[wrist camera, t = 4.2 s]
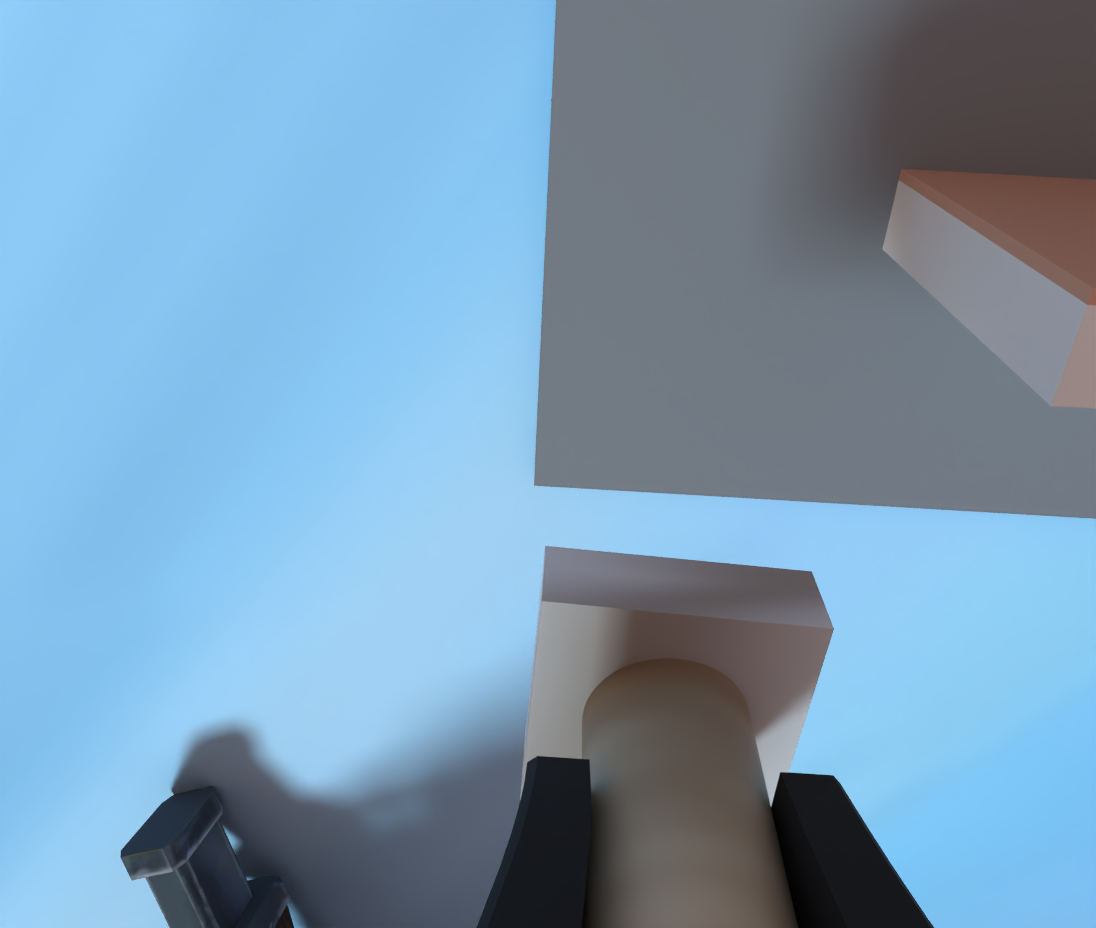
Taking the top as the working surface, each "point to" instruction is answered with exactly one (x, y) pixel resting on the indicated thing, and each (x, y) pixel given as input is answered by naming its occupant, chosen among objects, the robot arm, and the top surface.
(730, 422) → the mat
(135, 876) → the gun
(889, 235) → the tile
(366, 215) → the top surface
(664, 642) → the tamper
